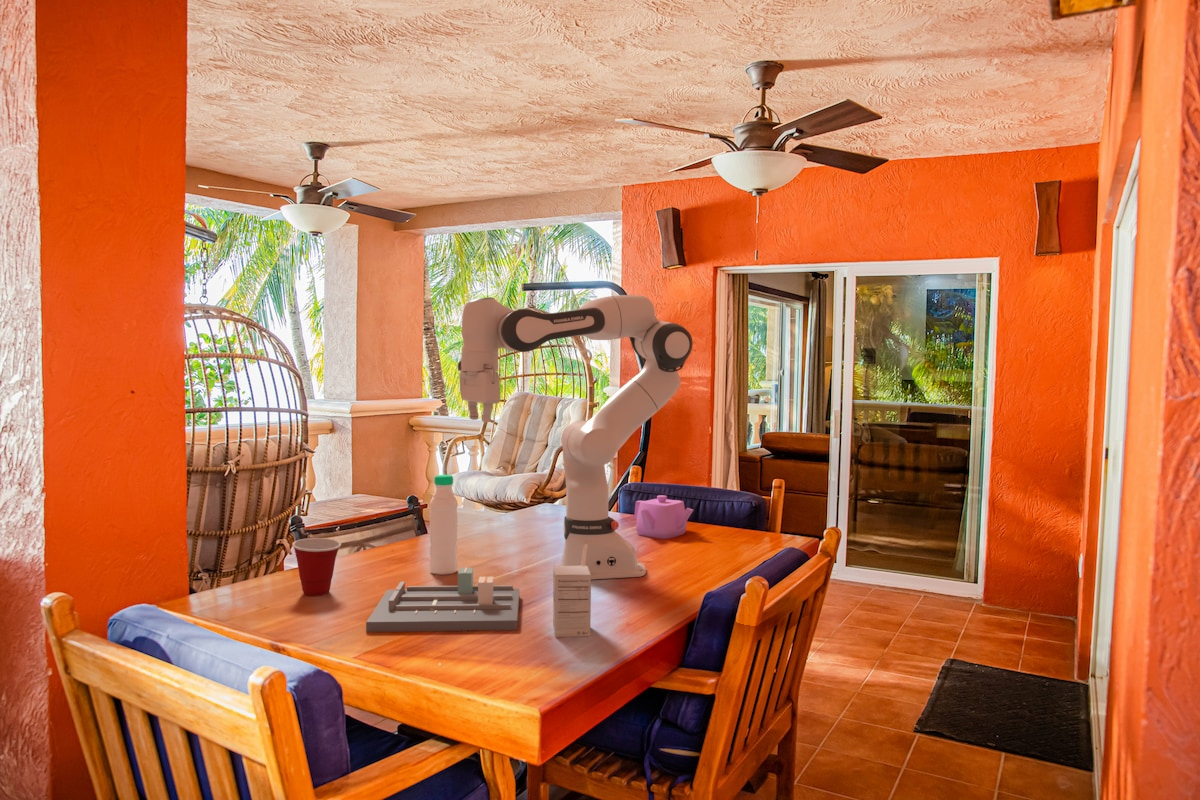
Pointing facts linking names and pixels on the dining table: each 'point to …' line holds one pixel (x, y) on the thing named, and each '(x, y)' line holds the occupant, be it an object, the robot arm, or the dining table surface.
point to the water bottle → (443, 527)
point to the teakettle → (661, 517)
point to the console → (444, 610)
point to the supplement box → (571, 601)
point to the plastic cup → (316, 564)
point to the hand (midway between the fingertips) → (479, 420)
